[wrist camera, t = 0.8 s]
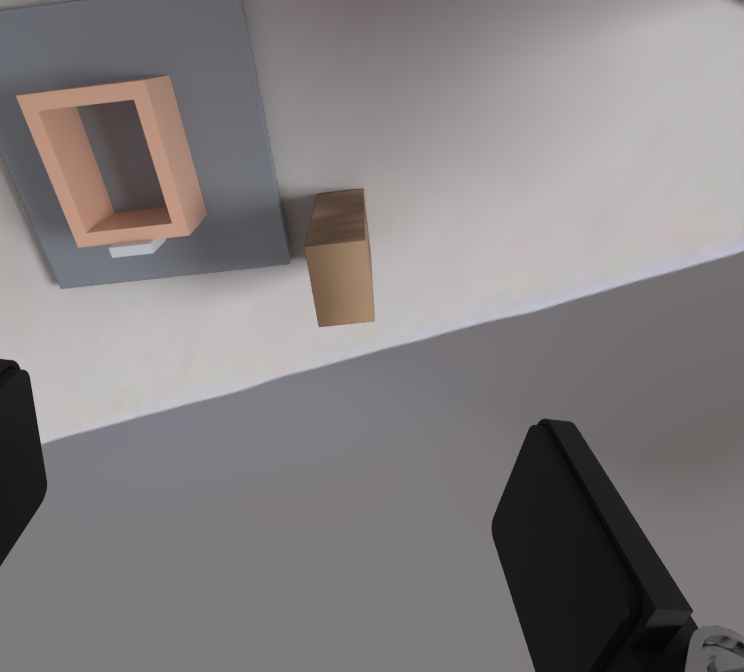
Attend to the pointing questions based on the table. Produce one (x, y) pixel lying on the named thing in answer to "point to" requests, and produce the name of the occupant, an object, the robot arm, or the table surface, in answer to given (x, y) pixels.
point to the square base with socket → (139, 139)
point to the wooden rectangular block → (340, 259)
